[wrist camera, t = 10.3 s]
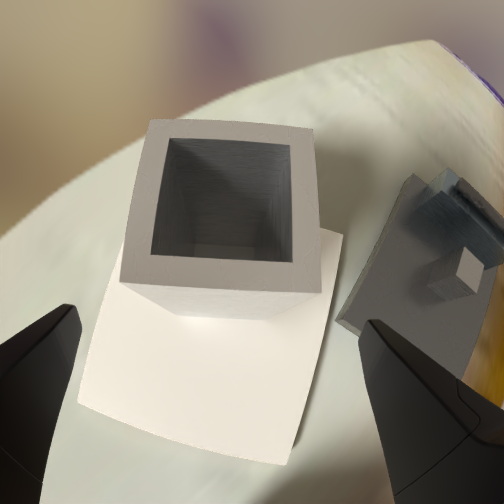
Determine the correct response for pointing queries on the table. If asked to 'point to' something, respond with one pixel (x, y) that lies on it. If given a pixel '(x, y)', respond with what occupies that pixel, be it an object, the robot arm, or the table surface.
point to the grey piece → (432, 270)
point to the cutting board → (209, 366)
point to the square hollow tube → (224, 218)
